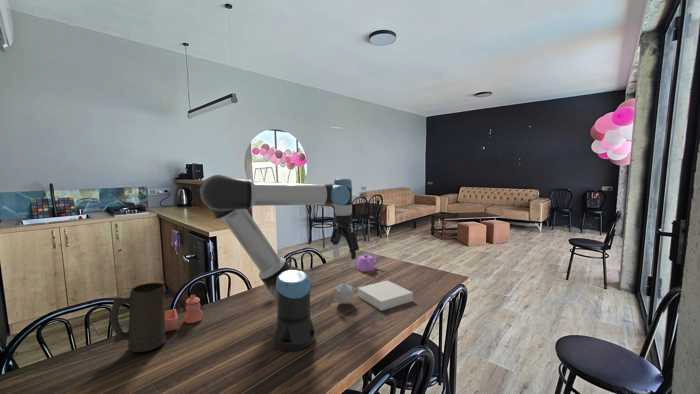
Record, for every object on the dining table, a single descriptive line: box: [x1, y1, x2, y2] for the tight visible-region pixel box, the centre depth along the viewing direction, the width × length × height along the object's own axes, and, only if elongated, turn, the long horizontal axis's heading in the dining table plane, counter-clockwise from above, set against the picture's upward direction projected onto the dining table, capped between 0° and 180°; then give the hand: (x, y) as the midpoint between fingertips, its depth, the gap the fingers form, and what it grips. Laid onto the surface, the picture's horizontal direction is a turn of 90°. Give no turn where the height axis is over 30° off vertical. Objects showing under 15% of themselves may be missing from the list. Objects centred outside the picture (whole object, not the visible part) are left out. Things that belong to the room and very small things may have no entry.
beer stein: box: [108, 282, 167, 353], centre depth 99 cm, size 15×11×20 cm
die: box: [333, 282, 355, 305], centre depth 131 cm, size 8×9×10 cm
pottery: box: [165, 294, 204, 333], centre depth 114 cm, size 18×10×10 cm, turn 125°
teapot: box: [356, 253, 381, 273], centre depth 177 cm, size 15×14×10 cm
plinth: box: [357, 280, 414, 311], centre depth 137 cm, size 18×18×4 cm
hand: (344, 262), depth 130 cm, fingers open, 13 cm apart
